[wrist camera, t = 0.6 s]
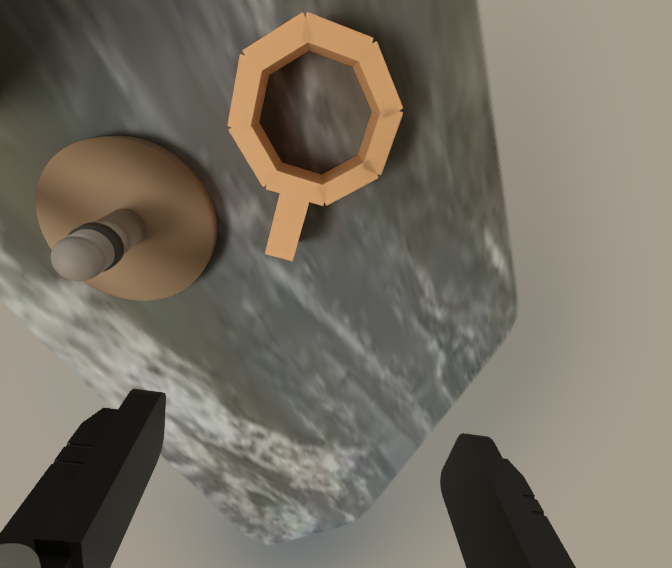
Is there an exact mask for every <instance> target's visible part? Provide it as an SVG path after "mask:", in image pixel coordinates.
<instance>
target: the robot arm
mask: <svg viewBox="0 0 672 568" xmlns="http://www.w3.org/2000/svg"><path fill="white" fill-rule="evenodd" d="M165 406H166V395H165V393H162V392H155V391H147V390H140V389H132V390H131V391H130V392H129V394H128V395H127V397H126V398H125V400H124V401H123V403H122V404H121V406H120V408H119V409H110V408H102V409H101V410H99V411H98V412H97V413H95V414H94V415H92V416H91V417H90V418H88V419H87V420H86V421H84V422H83V423H82V424H81V425H80V426H79V428H78V429H77V430H76V432H75V433H74V434H73V436H72V437H71V439H70V440H69V441H68V443H67V446H66V447H64V448H63V449H62V451H61V452H60V453H59V455H58V456H57V457H56V459H55V461H54V463H53V464H51V465H50V467H49V468H48V469H47V471H46V472H45V473H44V475H43V476H42V477H41V479H40V480H39V482H38V483H37V484H36V486H35V487H34V489H33V490H32V491H31V492H30V494H29V495H28V496H27V498H26V499H25V500H24V502H23V503H22V504H21V506H20V507H19V509H18V510H17V511H16V513H15V514H14V515H13V517H12V518H11V519H10V521H9V522H8V523H7V525H6V526H5V527H4V529H3V530H2V531H1V533H0V568H110V567H111V564H112V562H113V560H114V557H115V555H116V553H117V551H118V548H119V546H120V544H121V542H122V540H123V537H124V535H125V533H126V531H127V529H128V526H129V524H130V522H131V519H132V517H133V515H134V513H135V511H136V508H137V506H138V504H139V502H140V499H141V497H142V495H143V493H144V490H145V488H146V486H147V484H148V481H149V479H150V477H151V475H152V472H153V470H154V468H155V466H156V463H157V461H158V458H159V456H160V452H161V449H162V445H163V440H164V427H165ZM440 483H441V492H442V495H443V498H444V502H445V505H446V508H447V511H448V514H449V516H450V519H451V523H452V525H453V529H454V532H455V534H456V537H457V541H458V544H459V547H460V550H461V553H462V556H463V559H464V561H465V565H466V567H467V568H576V567H575V565H574V564H573V562H572V560H571V558H570V557H569V555H568V553H567V551H566V550H565V548H564V546H563V544H562V543H561V541H560V539H559V538H558V536H557V534H556V532H555V531H554V529H553V527H552V525H551V524H550V522H549V520H548V518H547V517H546V516H544V511H543V509H542V508H541V506H540V504H539V503H538V501H537V500H535V498H534V496H535V495H534V494H533V492H532V490H531V489H530V487H529V485H528V483H527V482H526V480H525V478H524V477H523V475H522V474H521V473H520V472H519V471H518V470H517V469H516V468H515V467H514V466H513V465H512V464H511V462H510V461H509V460H508V459H503V458H502V456H501V454H500V452H499V451H498V449H497V447H496V445H495V443H494V442H493V440H492V439H491V438H490V437H487V436H479V435H472V434H464V433H463V434H461V435H459V437H458V438H457V440H456V442H455V444H454V447H453V448H452V451H451V453H450V455H449V457H448V459H447V461H446V463H445V465H444V467H443V469H442V472H441V479H440Z"/></svg>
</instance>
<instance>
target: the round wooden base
mask: <svg viewBox="0 0 672 568" xmlns="http://www.w3.org/2000/svg"><path fill="white" fill-rule="evenodd" d="M36 212H37V217H38V221H39V225H40V228H41V230H42V233H43V235H44V237H45V239H46V241H47V243H48V245H49V247H50V248H51V249H52V252H51V262H52V265H53V267H54V269H55V270H56V271H57V272H58V273H59V274H60V275H61V276H63V277H65V278H67V279H70V280H74V281H84V282H85V283H87V284H89V285H90V286H92V287H94V288H96V289H98V290H100V291H102V292H105V293H107V294H110V295H113V296H116V297H120V298H125V299H130V300H156V299H162V298H166V297H169V296H172V295H174V294H177V293H179V292H181V291H182V290H184V289H186V288H187V287H189V286H190V285H191V284H192V283H193V282H194V281H195V280H196V279H197V278H198V277H199V276H200V275H201V273H202V272H203V270H204V269H205V267H206V266H207V264H208V262H209V261H210V259H211V257H212V255H213V253H214V250H215V247H216V243H217V236H218V222H217V216H216V211H215V208H214V205H213V202H212V199H211V197H210V195H209V193H208V191H207V189H206V187H205V186H204V184H203V182H202V181H201V180H200V178H199V177H198V176H197V175H196V173H195V172H194V171H193V170H192V169H191V168H190V167H189V166H188V165H187V164H186V163H185V162H184V161H182V160H181V159H180V158H179V157H178V156H176V155H175V154H173V153H172V152H170V151H169V150H167V149H165V148H163V147H161V146H159V145H157V144H155V143H152V142H150V141H147V140H144V139H140V138H136V137H131V136H122V135H113V136H103V137H97V138H91V139H85V140H82V141H79V142H76V143H73V144H71V145H69V146H67V147H65V148H64V149H62V150H61V151H60V152H58V153H57V154H56V155H55V156H54V157H53V158H52V159H51V160H50V161H49V162H48V163H47V165H46V167H45V168H44V170H43V172H42V174H41V176H40V179H39V181H38V186H37V190H36Z"/></svg>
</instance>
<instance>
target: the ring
mask: <svg viewBox="0 0 672 568" xmlns="http://www.w3.org/2000/svg"><path fill="white" fill-rule="evenodd" d="M372 41H373V37H370V36H368V35H365V34H362V33H360V32H357V31H355V30H352V29H350V28H347V27H344V26H342V25H339V24H337V23H334V22H332V21H329V20H326V19H324V18H321V17H319V16H316V15H314V14H311V13H309V12H307V14H306V18H305V16H304V14H303V12H302V13H301V14H299V15H298V16H296V17H294V18H293V19H291V20H290V21H288V22H287V23H285V24H283V25H282V26H280V27H279V28H277V29H276V30H274V31H272V32H271V33H269V34H268V35H266V36H265V37H263V38H261V39H260V40H258V41H257V42H255V43H253V44H252V45H250V46H249V47H247V48H246V49H244V50H242V51H243V52H244V54H245V56H244V55H241V54H240V58H239V63H238V69H237V75H236V80H235V86H234V92H233V97H232V103H231V109H230V114H229V120H228V126H230V127H232V128H230V129H229V132H230V133H231V135H232V137H233V138H234V140H235V142H236V143H237V145H238V147H239V148H240V150H241V151H242V153H243V155H244V156H245V158H246V160H247V161H248V163H249V165H250V166H251V168H252V170H253V171H254V173H255V175H256V176H257V178H258V180H259V181H260V183H261V185H262V186H265V185H267V186H266V189H267V190H271V191H274V192H277V193H280V195H279V199H278V203H277V207H276V211H275V215H274V219H273V223H272V227H271V232H270V236H269V240H268V244H267V248H266V252H265V254H267V255H271V256H275V257H278V258H282V259H286V260H290V261H293V258H294V254H295V251H296V247H297V244H298V240H299V237H300V233H301V230H302V226H303V223H304V219H305V216H306V212H307V208H308V205H309V202H311V203H314V204H317V205H321V206H323V204H324V202H325V204H326V206H327V205H329V204H331V203H332V202H334V201H336V200H338V199H340V198H342V197H344V196H346V195H348V194H349V193H351V192H353V191H355V190H357V189H359V188H361V187H363V186H364V185H366V184H368V183H370V182H372V181H374V180H376V179H378V175H377V174H379V175H381V174H382V171H383V168H384V166H385V163H386V160H387V157H388V154H389V151H390V149H391V146H392V143H393V140H394V137H395V135H396V132H397V129H398V126H399V123H400V120H401V118H402V115H403V112H400V111H399V110H401V109H403V106H402V104H401V101H400V99H399V96H398V94H397V91H396V89H395V86H394V84H393V81H392V79H391V76H390V74H389V71H388V69H387V66H386V63H385V61H384V58H383V56H382V53H381V51H380V48H379V46H378V43H377V41H376V42H374V43H373V44H372ZM308 51H311V52H313V53H316V54H319V55H321V56H324V57H327V58H329V59H332V60H335V61H338V62H340V63H343V64H346V65H348V66H351V67H353V69H354V71H355V74H356V76H357V78H358V81H359V83H360V85H361V87H362V90H363V92H364V94H365V97H366V99H367V101H368V104H369V106H370V108H371V111H372V112H371V116H370V119H369V122H368V125H367V128H366V131H365V134H364V137H363V140H362V143H361V147H360V150H359V153H358V155H357V156H355V157H353V158H351V159H349V160H347V161H346V162H344V163H342V164H340V165H338V166H336V167H335V168H333V169H331V170H329V171H327V172H326V173H324V174H322V175H321V174H318V173H315V172H311V171H308V170H305V169H302V168H299V167H295V166H292V165H289V164H286V163H283V162H281V160H280V158H279V156H278V154H277V153H276V151H275V149H274V147H273V146H272V144H271V142H270V140H269V139H268V137H267V135H266V133H265V131H264V130H263V128H262V126H261V124H260V123H259V122H260V117H261V112H262V107H263V103H264V98H265V93H266V88H267V83H268V79H269V75H270V74H272V73H274V72H275V71H277V70H279V69H280V68H282V67H283V66H285V65H287V64H288V63H290V62H292V61H293V60H295V59H296V58H298V57H300V56H301V55H303V54H305V53H306V52H308Z"/></svg>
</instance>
